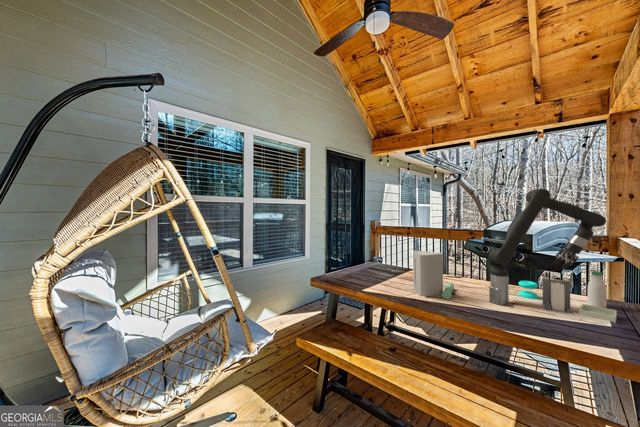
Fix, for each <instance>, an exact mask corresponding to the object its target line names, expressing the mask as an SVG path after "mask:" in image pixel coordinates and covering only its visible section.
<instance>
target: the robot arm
mask: <svg viewBox="0 0 640 427" xmlns="http://www.w3.org/2000/svg"><path fill="white" fill-rule="evenodd" d="M525 201H526V202H527V203H528V204H527V205H526V207H525V208H524V209H522V211H520V213H518V214H517V215H516V216H515V218H514V219H513V220H512V221H511V223H510V224H509V226H508V228H507V231H506V237H505V238H506V239H505V241H504V243H503V244H502V246H501V247H500V248H499V247H498V248H497V247H495V248H492V249H490V251H489V253H488V269H489V270H490V275H489V276H490V286H489V287H488V288H489V290H488V291H489V294H488V295H489V297H488V298H489V302H490V303H492V304H495V305H498V306H500V305H501V306H507V305H509V304H510V302H509V298H510V297H509V295H510V293H509V285H510V284H509V282H510V281H509V280H510V278H509V270H508V269H507V268H506V265H508V264H509V263H510V262H511V260H512V259H513V257H514V255H515V253H516V250H517V248H518V247H519V245H520V243H521V242H522V240H523V239H524V237H525V236H526V234H527V233H528V232H529V230H530V228H531V226H532V225H533V223H534V221H535V220H536V218H537V217H538V215H539V213H540V212H541V211H542V210H543V209H544V208H546V209H549V210H551V211H555V212H557V213H560V214H562V215H564V216H566V217H569V218H572V219H575V220H578V221H580V223H579V225H578V228H577V230H576V231H575V232H574V233H573V235H572V236H571V237H570V238H569V239H568V241H567V242H566V244H565V245H564V247H563V248H564V249H563V248H560V249H559V251H558V252H557V253H556V254H555V257H556V259H555V260H554V261H553V264H554V265H556V266H559V265H560V263H561V262H562V260H565V263H564V264H563V265H562V266H561V269H562V270H564V271H566V270H567V269H568V268H569V267H570V266H574V265H575V264H576V263H577V261H578V260H579V258H580V256H578V255H579V254H580V253H582V251H583V249H584V248H585V247H586V246H587V244H588V243H589V240H590V239H591V238H592V237H593V236H594V231H593V228H594V227H597V228H599V227H600V228H601V227H602V226H604V225H606V223H607V219H606V217H605V216H604V215H602V214H599V213H596V212H593V211H590V210H587V209H585V208H583V207H581V206H578V205H576V204H572V203H570V202H565V201H561V200H557V199H554V198H551V193H550V191H549V190H548V189H546V188H538V189H537V188H536V189H531V190H530V191H528V192H526V195H525Z"/></svg>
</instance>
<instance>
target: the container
mask: <svg viewBox="0 0 640 427" xmlns="http://www.w3.org/2000/svg"><path fill="white" fill-rule="evenodd" d="M454 289H455V285H454V284H453V283H452V282H448V283H447V284H446V285H445V287H444V288H443V292H442V295H441V297H442V298H444V299H445V298H446V299H447V300H450V299H452V293H453V292H454Z"/></svg>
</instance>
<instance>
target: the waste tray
mask: <svg viewBox="0 0 640 427" xmlns="http://www.w3.org/2000/svg"><path fill="white" fill-rule="evenodd" d="M617 312H618V310H617V309H612V308H607V307H606V308H602V307H598V306H593V305H590V304H586V303H581V305H580V307H579V309H578V315H580V316H585V317H590V318H594V319H598V320H599V319H600V320H603V321H608V322H612V323H614V324H616V322H617V317H618V316H617V315H618V314H617Z"/></svg>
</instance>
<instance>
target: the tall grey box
mask: <svg viewBox="0 0 640 427" xmlns="http://www.w3.org/2000/svg"><path fill="white" fill-rule="evenodd" d="M443 254H444V253H443V252H435V251H423V250H413V251H412V260H413V261H412V263H413V264H412V271H413V274H412V275H413V276H412V277H413V278H412V279H413V280H412V282H413V291H414V290H415V291H416V292H417V293H418V294H419V295H418V294H417V293H416V292H415V291H414V292H415V293H416V294H417V295H418V296H420V297H422V296H430V297H434V296H433V295H438V296H442V292H443V291H444V270H443V269H444V267H443V266H444V264H443V259H444V258H443Z"/></svg>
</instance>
